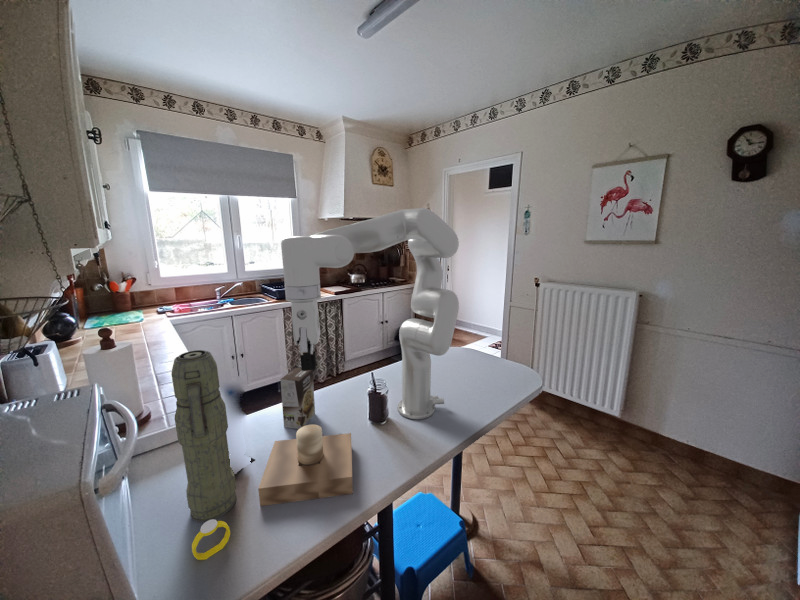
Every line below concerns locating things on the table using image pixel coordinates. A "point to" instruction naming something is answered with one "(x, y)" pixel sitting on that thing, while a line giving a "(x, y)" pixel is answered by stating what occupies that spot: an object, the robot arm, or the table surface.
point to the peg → (309, 445)
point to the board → (307, 472)
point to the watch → (207, 530)
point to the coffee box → (297, 398)
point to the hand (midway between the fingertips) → (309, 368)
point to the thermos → (203, 435)
